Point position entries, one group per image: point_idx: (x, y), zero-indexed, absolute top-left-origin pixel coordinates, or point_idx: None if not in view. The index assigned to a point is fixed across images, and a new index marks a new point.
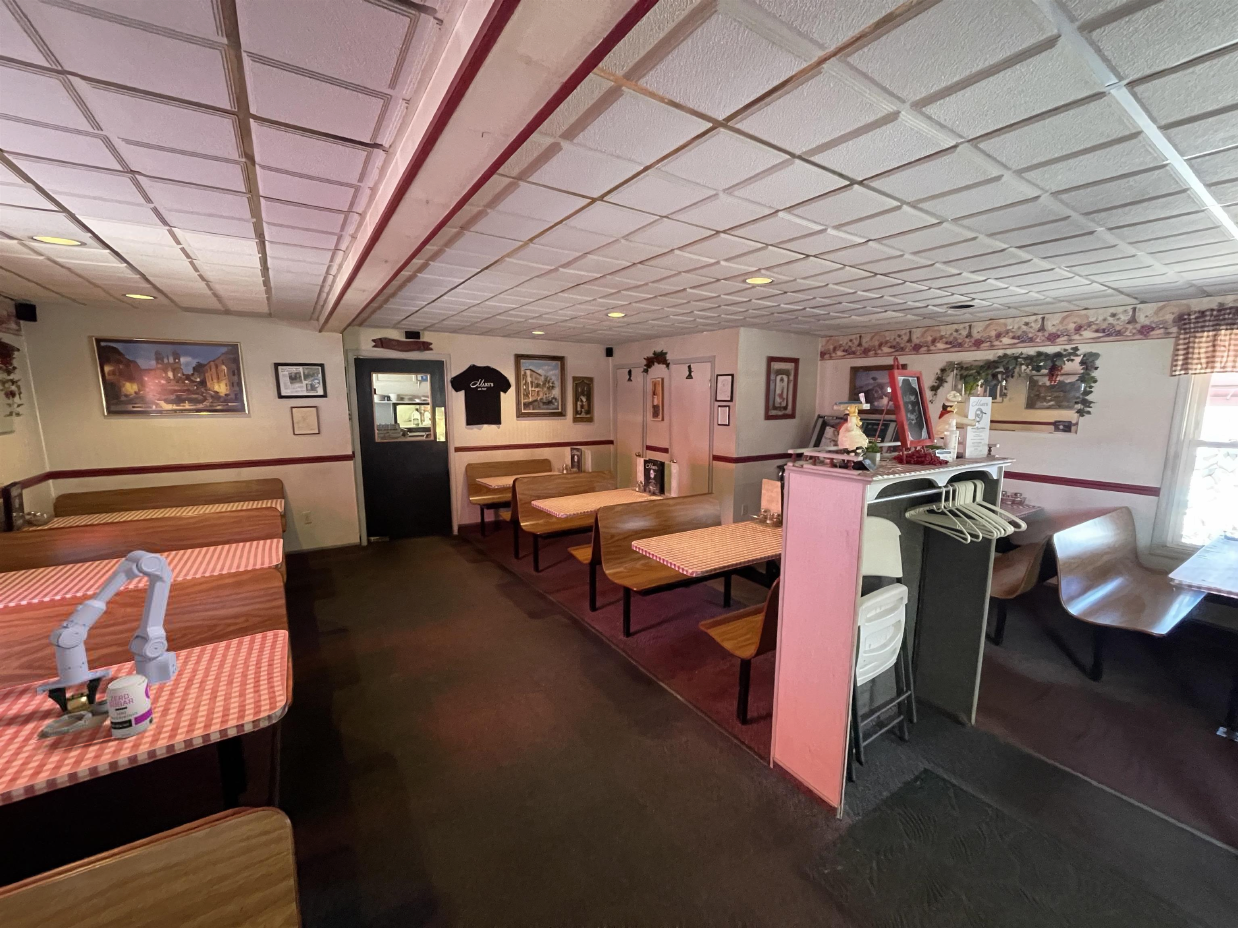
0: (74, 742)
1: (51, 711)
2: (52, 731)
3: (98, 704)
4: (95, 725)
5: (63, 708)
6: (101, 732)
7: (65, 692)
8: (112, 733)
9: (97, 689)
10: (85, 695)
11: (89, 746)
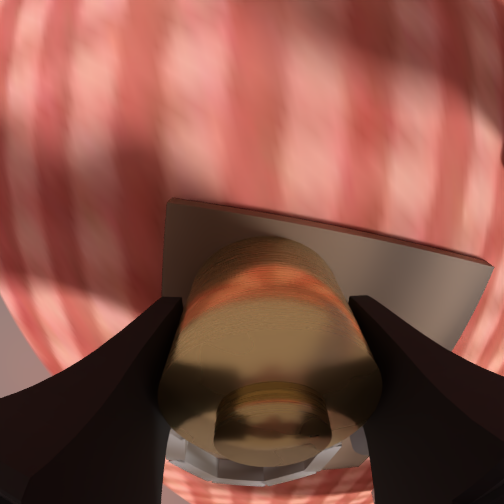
0: (291, 484)
1: (64, 160)
2: (216, 480)
3: None
4: (344, 461)
5: None
6: (353, 471)
7: (112, 415)
8: (373, 499)
9: (440, 352)
10: (338, 426)
11: (325, 495)
